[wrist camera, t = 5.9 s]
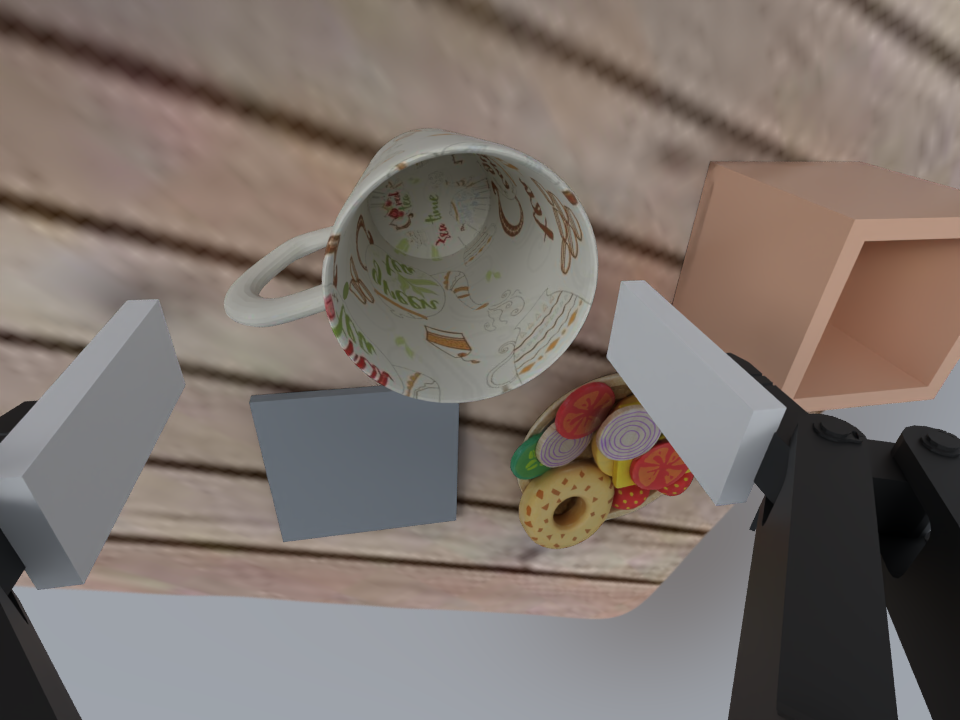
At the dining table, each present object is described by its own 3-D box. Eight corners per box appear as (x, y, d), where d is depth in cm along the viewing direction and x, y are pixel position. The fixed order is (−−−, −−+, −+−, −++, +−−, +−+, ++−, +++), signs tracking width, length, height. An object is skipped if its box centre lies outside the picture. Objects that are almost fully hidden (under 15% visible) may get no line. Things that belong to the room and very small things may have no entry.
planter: (668, 318, 30) (770, 415, 23) (710, 161, 25) (854, 219, 18) (798, 310, 32) (933, 399, 24) (860, 161, 27) (1050, 214, 20)
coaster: (284, 534, 33) (283, 541, 33) (251, 395, 28) (249, 402, 27) (454, 513, 35) (456, 520, 35) (457, 380, 30) (459, 386, 29)
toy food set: (511, 527, 38) (523, 565, 35) (496, 381, 31) (509, 415, 28) (684, 487, 39) (708, 521, 37) (709, 338, 32) (741, 367, 29)
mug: (534, 251, 26) (614, 357, 18) (296, 332, 26) (267, 476, 18) (493, 69, 22) (577, 100, 13) (203, 167, 21) (105, 258, 13)
